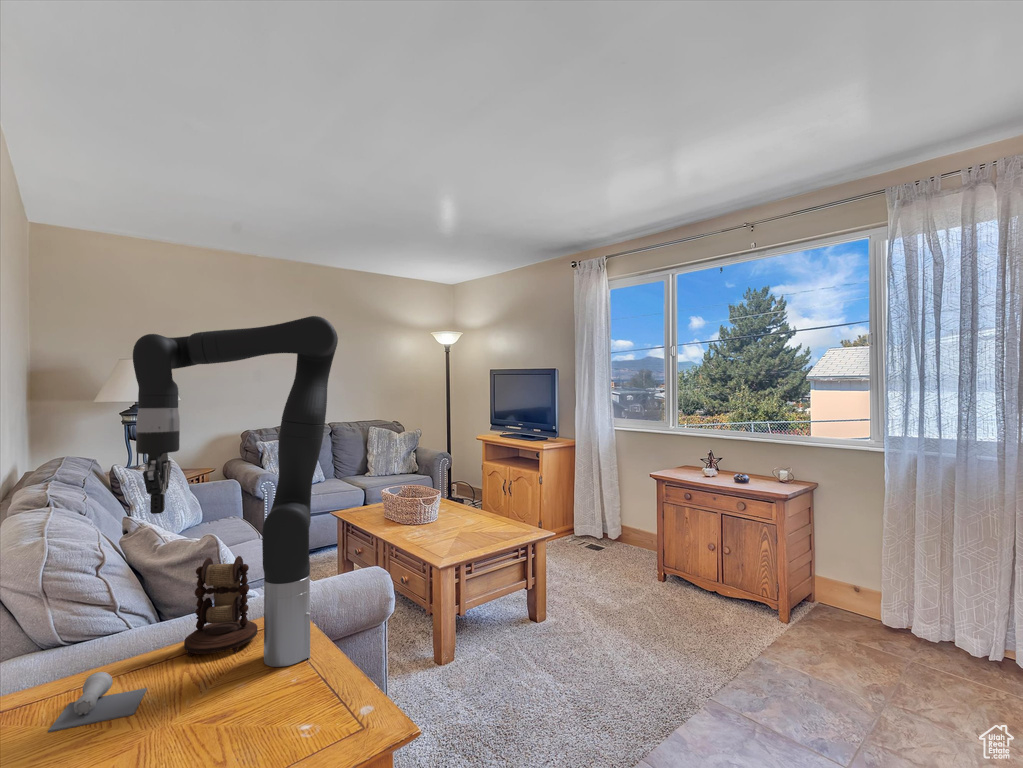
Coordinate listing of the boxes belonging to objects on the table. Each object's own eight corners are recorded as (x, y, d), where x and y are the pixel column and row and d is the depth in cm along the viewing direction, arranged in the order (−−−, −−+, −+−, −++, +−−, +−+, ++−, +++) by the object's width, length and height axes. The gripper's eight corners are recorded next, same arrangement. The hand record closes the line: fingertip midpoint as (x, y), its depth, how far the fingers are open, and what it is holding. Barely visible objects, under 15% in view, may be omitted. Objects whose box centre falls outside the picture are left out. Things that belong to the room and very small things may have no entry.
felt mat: (147, 689, 100) (147, 687, 100) (133, 714, 91) (133, 712, 91) (69, 704, 95) (69, 702, 95) (48, 732, 87) (48, 730, 87)
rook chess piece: (102, 697, 98) (86, 724, 91) (79, 688, 97) (60, 715, 89) (119, 676, 99) (104, 701, 91) (96, 666, 97) (79, 691, 90)
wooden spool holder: (266, 628, 126) (266, 547, 127) (243, 657, 112) (243, 565, 113) (202, 633, 124) (203, 550, 125) (170, 663, 110) (171, 569, 111)
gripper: (172, 430, 103) (171, 517, 102) (185, 428, 115) (184, 505, 115) (127, 431, 100) (126, 521, 99) (145, 429, 112) (144, 509, 112)
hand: (157, 512), depth 107 cm, fingers closed
